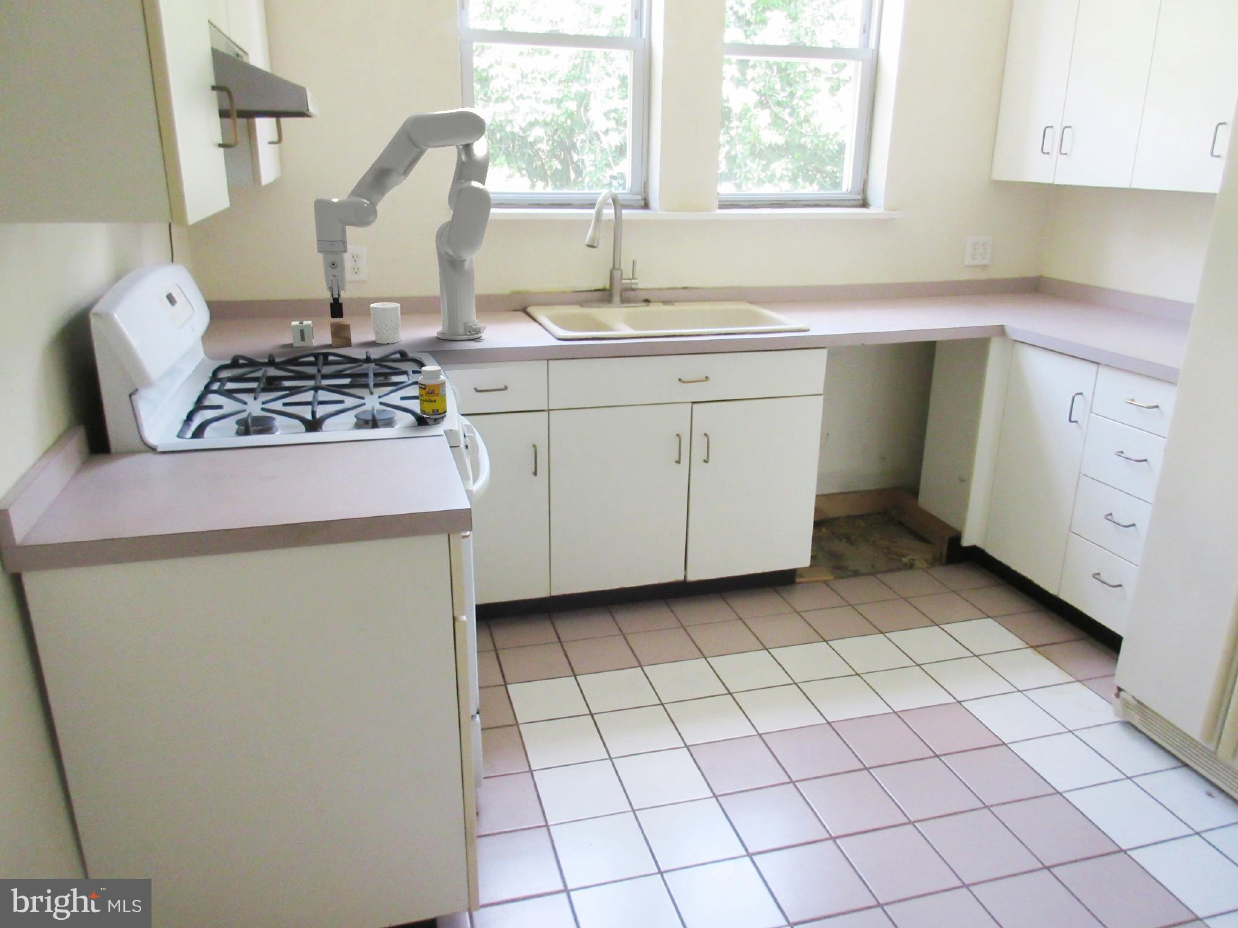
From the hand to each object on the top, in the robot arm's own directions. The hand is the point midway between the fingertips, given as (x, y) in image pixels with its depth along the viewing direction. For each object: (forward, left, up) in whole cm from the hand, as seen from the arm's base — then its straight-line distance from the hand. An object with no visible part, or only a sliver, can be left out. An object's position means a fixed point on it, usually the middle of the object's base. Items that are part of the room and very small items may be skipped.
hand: (337, 317), depth 239 cm
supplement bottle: (-65, +38, -8) cm, 76 cm away
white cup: (-7, -10, -8) cm, 15 cm away
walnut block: (0, 0, -7) cm, 7 cm away
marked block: (+9, +5, -7) cm, 12 cm away
